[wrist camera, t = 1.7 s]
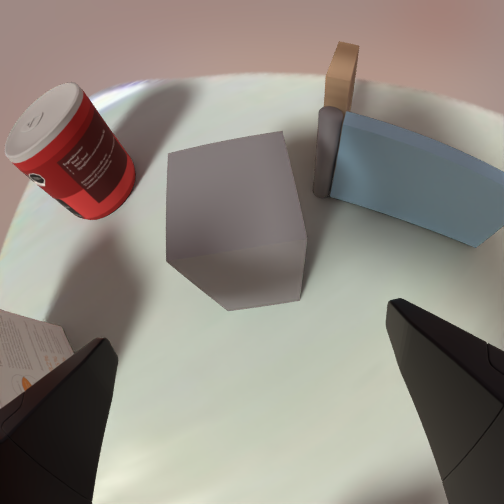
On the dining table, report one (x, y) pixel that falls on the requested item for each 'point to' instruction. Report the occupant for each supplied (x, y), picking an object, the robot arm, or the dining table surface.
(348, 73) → the brown wooden block
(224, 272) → the block
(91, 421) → the robot arm
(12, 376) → the small box
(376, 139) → the gate
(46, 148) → the canned food
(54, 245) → the dining table surface
